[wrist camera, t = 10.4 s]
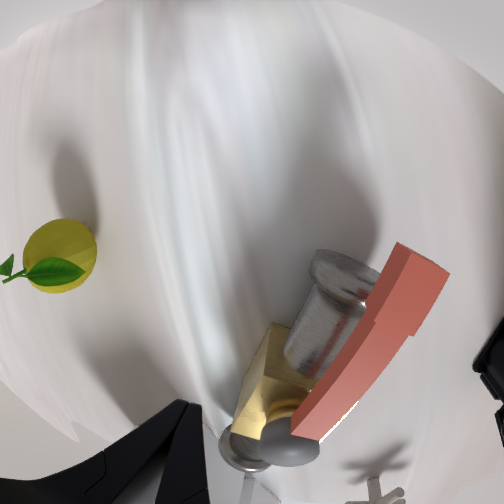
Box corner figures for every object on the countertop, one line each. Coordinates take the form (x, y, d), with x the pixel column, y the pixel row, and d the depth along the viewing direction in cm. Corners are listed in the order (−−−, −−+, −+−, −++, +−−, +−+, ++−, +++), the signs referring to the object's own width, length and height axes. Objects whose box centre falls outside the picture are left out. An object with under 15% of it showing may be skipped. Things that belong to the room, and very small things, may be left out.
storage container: (281, 501, 30) (274, 552, 20) (222, 502, 33) (210, 548, 22) (204, 422, 25) (174, 503, 15) (134, 424, 28) (98, 484, 17)
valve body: (308, 240, 18) (318, 279, 11) (387, 273, 18) (428, 322, 11) (222, 418, 24) (205, 473, 17) (279, 435, 24) (273, 490, 17)
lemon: (57, 240, 21) (-22, 273, 12) (81, 193, 20) (-13, 213, 10) (99, 291, 22) (23, 345, 12) (128, 248, 20) (37, 297, 11)
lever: (301, 452, 15) (300, 471, 13) (252, 440, 15) (248, 459, 13) (442, 266, 10) (460, 279, 9) (382, 234, 10) (397, 244, 9)
